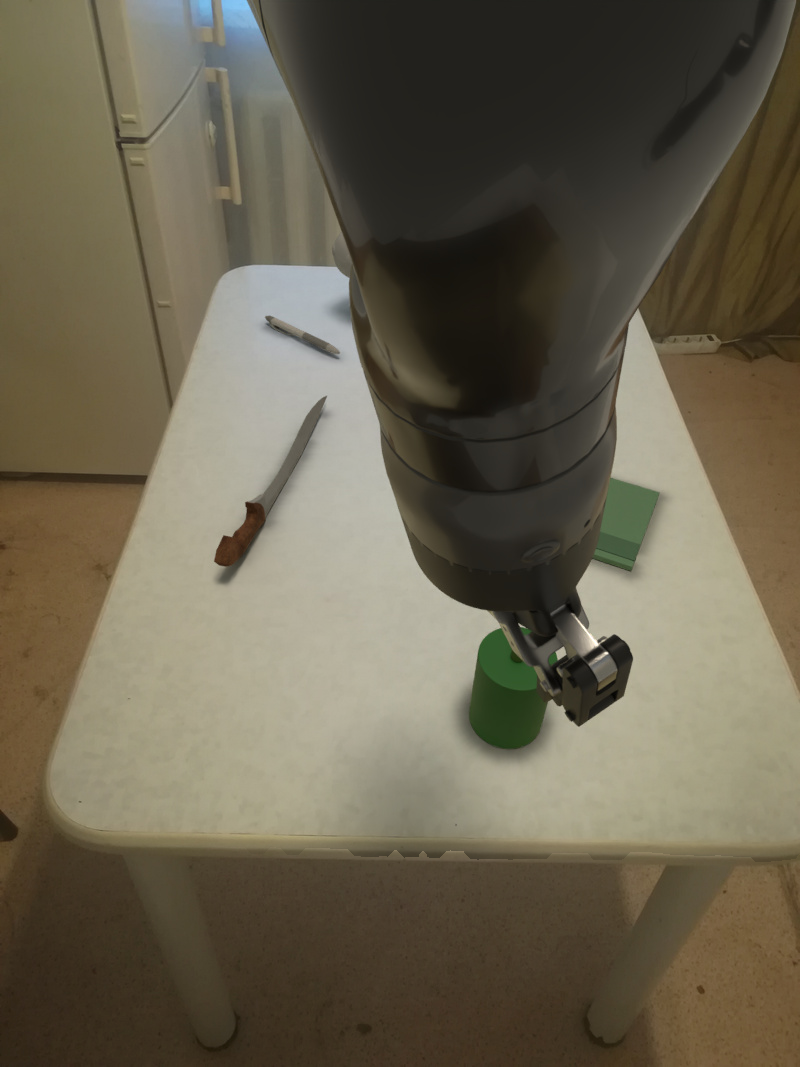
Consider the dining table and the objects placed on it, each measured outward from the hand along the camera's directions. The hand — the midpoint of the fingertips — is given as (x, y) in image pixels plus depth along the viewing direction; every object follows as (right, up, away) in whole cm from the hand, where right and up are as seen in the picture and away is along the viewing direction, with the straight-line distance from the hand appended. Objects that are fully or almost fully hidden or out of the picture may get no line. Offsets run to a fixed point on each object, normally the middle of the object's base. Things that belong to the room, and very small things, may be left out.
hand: (508, 622), depth 40 cm
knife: (-18, +10, +38) cm, 43 cm away
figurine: (-11, +35, +64) cm, 74 cm away
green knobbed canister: (+2, -9, +17) cm, 20 cm away
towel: (+9, +8, +36) cm, 38 cm away
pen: (-19, +30, +59) cm, 69 cm away
